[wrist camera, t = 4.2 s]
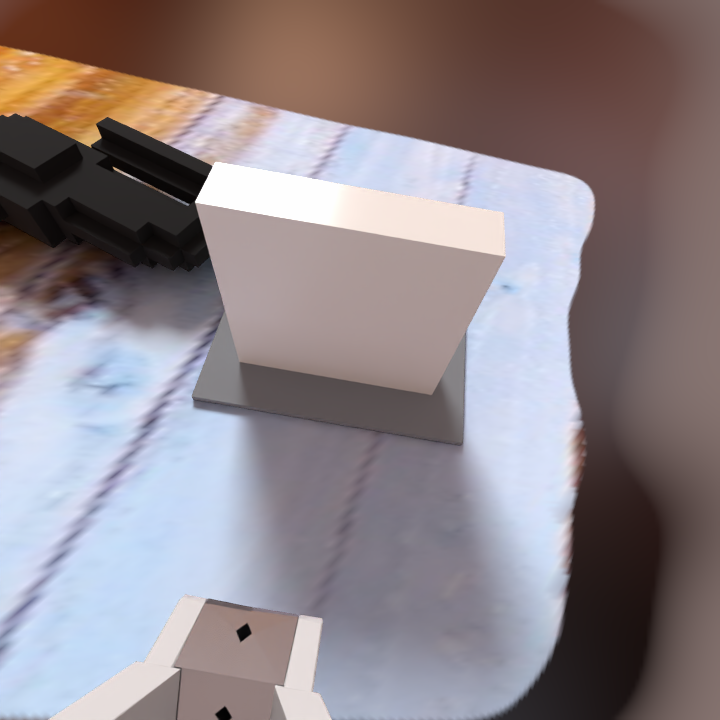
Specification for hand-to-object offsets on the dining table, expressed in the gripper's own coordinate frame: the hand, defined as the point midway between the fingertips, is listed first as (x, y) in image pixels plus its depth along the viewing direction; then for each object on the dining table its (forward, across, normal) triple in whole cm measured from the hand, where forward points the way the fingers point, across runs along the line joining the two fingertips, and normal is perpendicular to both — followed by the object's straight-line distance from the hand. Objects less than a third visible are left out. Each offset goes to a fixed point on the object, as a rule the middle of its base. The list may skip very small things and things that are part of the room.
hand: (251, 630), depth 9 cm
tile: (+19, 0, -1) cm, 19 cm away
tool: (+25, +20, -6) cm, 32 cm away
